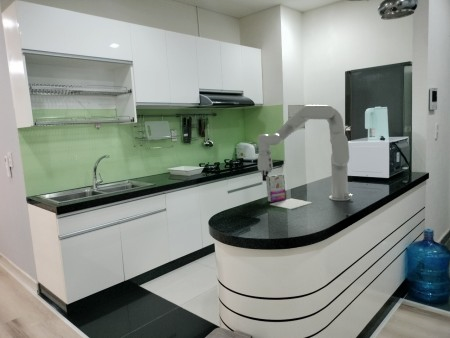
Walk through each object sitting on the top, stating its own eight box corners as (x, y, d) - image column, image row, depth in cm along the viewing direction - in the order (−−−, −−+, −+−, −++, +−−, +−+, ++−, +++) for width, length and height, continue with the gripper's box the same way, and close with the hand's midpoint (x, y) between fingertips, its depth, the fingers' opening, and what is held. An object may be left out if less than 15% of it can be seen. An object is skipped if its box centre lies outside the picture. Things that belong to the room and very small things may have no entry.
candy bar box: (282, 199, 223) (280, 174, 222) (286, 199, 218) (284, 174, 218) (267, 201, 219) (265, 176, 218) (271, 202, 214) (269, 176, 213)
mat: (312, 203, 209) (312, 202, 209) (290, 209, 197) (290, 208, 197) (291, 198, 222) (291, 198, 222) (269, 204, 210) (269, 204, 210)
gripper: (276, 153, 219) (277, 181, 221) (260, 152, 231) (261, 178, 233) (268, 154, 214) (269, 182, 217) (252, 153, 226) (253, 180, 229)
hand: (265, 180), depth 225 cm, fingers closed
